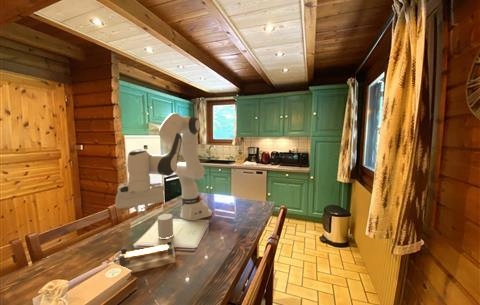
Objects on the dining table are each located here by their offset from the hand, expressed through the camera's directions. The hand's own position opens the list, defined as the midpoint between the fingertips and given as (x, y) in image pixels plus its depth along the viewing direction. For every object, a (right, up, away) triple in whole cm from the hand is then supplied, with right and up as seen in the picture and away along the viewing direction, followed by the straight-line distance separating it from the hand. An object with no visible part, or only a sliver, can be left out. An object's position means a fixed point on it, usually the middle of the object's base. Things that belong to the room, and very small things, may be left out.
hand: (141, 213), depth 92 cm
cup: (+2, -21, +23) cm, 31 cm away
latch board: (+2, -23, +2) cm, 23 cm away
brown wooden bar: (+2, -19, +1) cm, 19 cm away
